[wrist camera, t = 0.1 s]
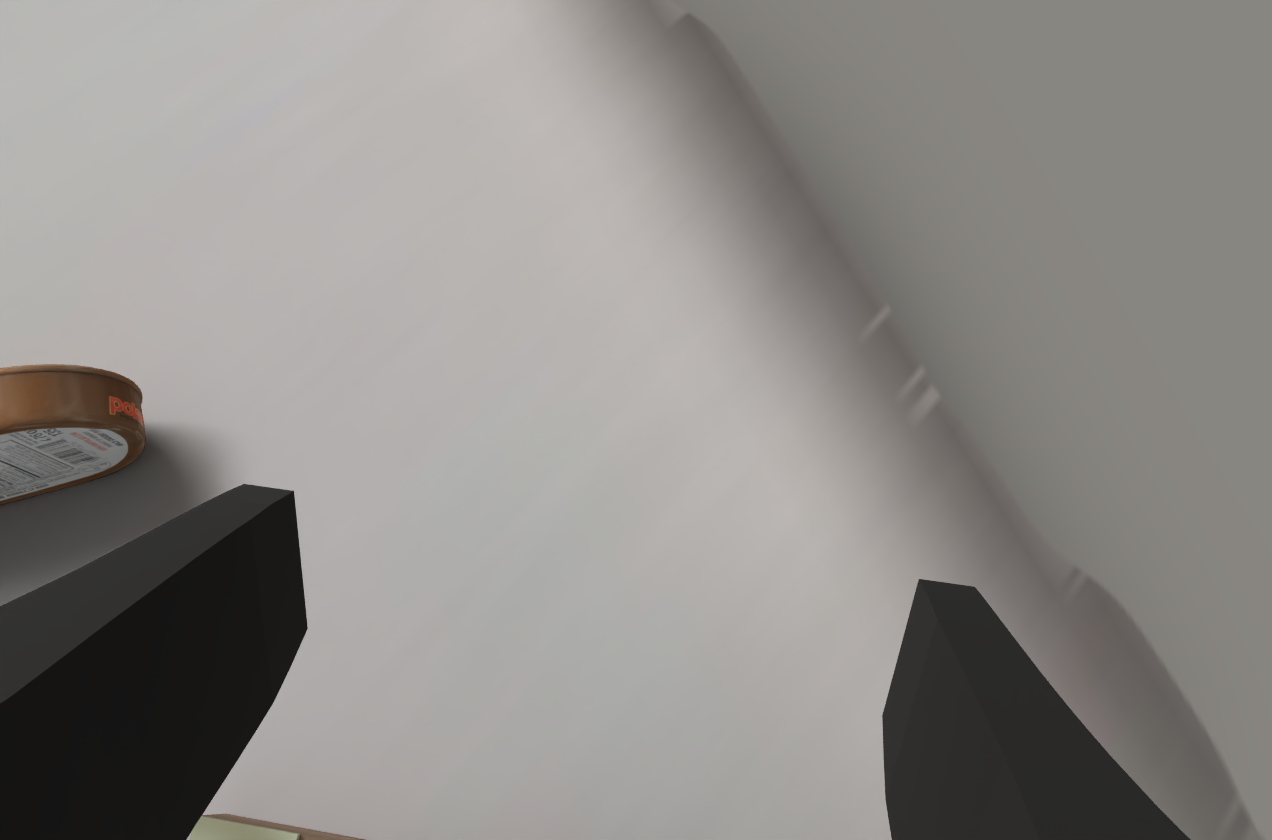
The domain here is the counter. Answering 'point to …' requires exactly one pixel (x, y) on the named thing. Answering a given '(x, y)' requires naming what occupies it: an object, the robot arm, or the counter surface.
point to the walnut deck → (253, 830)
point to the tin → (65, 427)
